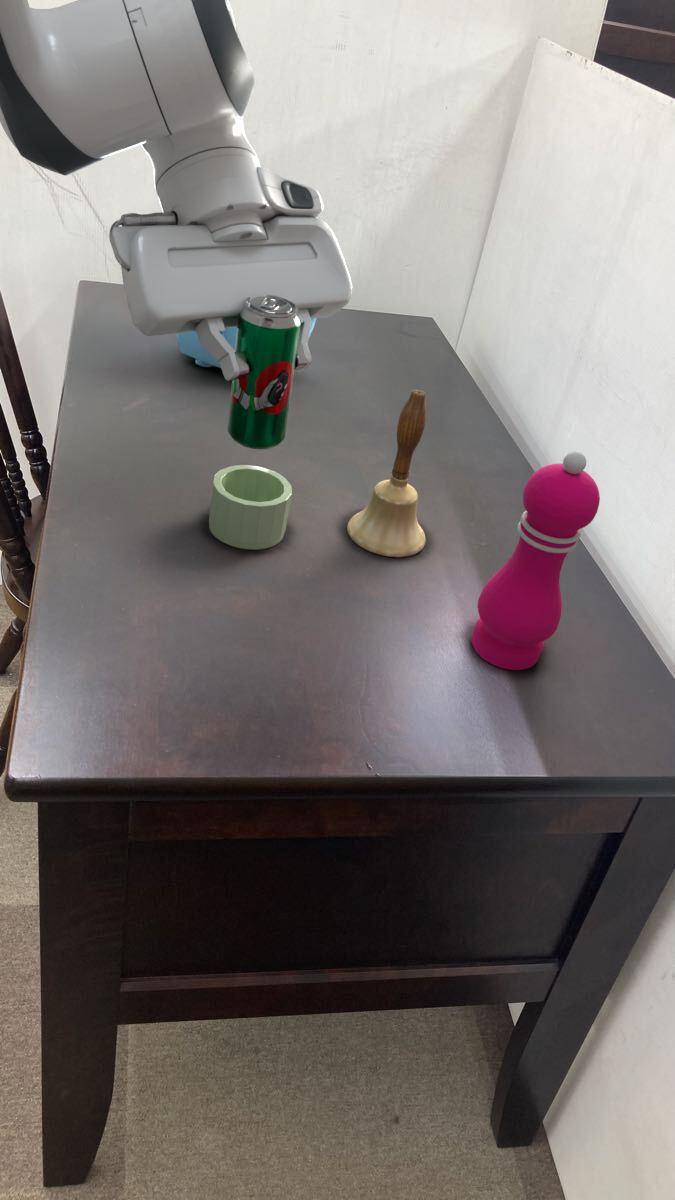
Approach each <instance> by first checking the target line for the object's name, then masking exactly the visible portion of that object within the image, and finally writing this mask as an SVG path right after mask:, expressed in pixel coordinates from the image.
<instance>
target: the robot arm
mask: <svg viewBox="0 0 675 1200" xmlns="http://www.w3.org/2000/svg"><path fill="white" fill-rule="evenodd" d="M250 63H251V62H250V60H249V58H248V57H247V53H246V52H245V50H244V47H243V45H242V42H241V40H240V38H239V35H238V28H237V23H236V18H235V14H234V10H233V7H232V3H231V1H230V0H75V1H72V2H69V3H65V4H63V5H60V6H57V7H56V6H55V7H53V8H33V7H30V4H29V1H28V0H0V125H1V127H2V129H3V131H4V133H5V134H6V136H7V137H8V139H9V141H10V142H11V143H12V145H13V146H14V148H16V150H17V151H18V153H19V154H20V156H21V157H22V158H24V159H25V160H27V161H29V162H31V163H33V164H34V165H37V166H39V167H41V168H43V169H46V170H48V171H50V172H53V173H56V174H59V175H62V176H65V177H66V176H67V177H68V176H69V175H72V174H74V173H76V172H78V171H80V170H83V169H85V168H87V167H90V166H91V165H94V164H96V163H98V162H101V161H103V160H104V159H105V158H106V157H108V156H112V155H115V154H118V153H121V152H123V151H126V150H130V149H132V148H135V147H138V146H141V148H142V149H143V150H144V152H145V153H146V155H147V156H148V158H149V160H150V162H151V165H152V169H153V182H154V183H153V184H154V190H155V192H156V195H157V198H158V201H159V205H160V209H161V211H162V212H150V213H138V212H128V213H124V214H121V216H120V218H119V219H117V220H116V221H114V222H113V223H112V224H111V226H110V227H109V233H108V234H109V235H108V238H109V239H108V240H109V242H110V245H111V249H112V253H113V255H114V257H115V260H116V261H117V263H118V264H119V265H120V270H121V277H122V284H123V290H124V294H125V299H126V304H127V308H128V312H129V316H130V319H131V323H132V324H133V326H134V327H135V328H136V329H137V330H138V331H139V332H140V333H142V334H143V335H144V336H146V337H152V336H162V335H172V334H173V335H174V334H177V333H182V332H192V331H196V332H197V335H198V338H199V341H200V344H201V345H202V346H203V347H204V348H205V349H206V350H207V351H208V352H209V353H210V354H211V355H212V356H213V357H214V358H215V359H216V360H217V361H219V363H220V366H221V368H220V369H221V371H222V375H223V377H224V379H225V381H227V382H228V381H232V380H235V379H242V378H244V376H246V375H248V374H249V365H248V364H247V363H246V356H245V354H244V352H243V351H241V352H235V350H234V349H233V348H232V347H231V345H230V344H229V343H228V342H227V340H226V339H225V338H224V337H223V336H222V333H223V332H224V331H225V328H228V327H237V324H238V314H239V313H240V312H241V310H242V308H243V307H244V301H245V299H246V298H248V297H250V299H249V302H250V301H251V300H252V299H254V298H256V297H267V295H272V296H277V297H281V298H284V299H287V300H289V301H291V302H293V303H294V304H295V305H296V306H297V307H298V312H297V314H298V316H299V318H300V321H301V326H300V333H299V340H298V347H297V355H296V362H295V369H294V371H303V370H306V369H307V368H308V367H310V366H312V363H313V358H312V354H311V352H310V348H309V345H308V343H309V339H310V337H309V334H310V329H311V323H312V321H311V318H317V319H319V318H328V317H332V316H333V315H335V314H337V313H338V312H339V311H341V310H342V309H343V308H345V306H347V305H348V304H350V301H351V299H352V294H353V283H352V282H353V281H352V278H351V276H350V272H349V269H348V265H347V263H346V260H345V257H344V255H343V251H342V248H341V246H340V244H339V242H338V239H337V237H336V235H335V233H334V232H333V230H332V229H331V227H330V226H329V224H328V223H326V222H325V221H324V220H322V219H321V218H320V217H319V216H320V215H321V214H322V212H323V211H324V203H323V198H322V196H321V194H320V192H319V191H318V190H317V189H316V188H314V187H312V186H309V185H306V184H303V183H300V182H299V181H295V180H293V179H289V178H287V177H286V176H285V177H284V176H282V175H281V174H278V173H276V172H274V171H272V170H270V169H268V168H267V167H263V166H261V164H260V161H259V158H258V155H257V153H256V152H255V149H254V148H253V146H252V145H251V144H250V142H249V140H248V139H247V136H246V133H245V129H244V115H245V113H246V111H247V109H248V106H249V103H250V100H251V97H252V95H253V91H254V88H255V74H254V71H253V69H252V66H251V64H250ZM318 217H319V218H318Z"/></svg>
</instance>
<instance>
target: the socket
mask: <svg viewBox="0 0 675 1200" xmlns="http://www.w3.org/2000/svg"><path fill="white" fill-rule="evenodd" d="M292 495H293V487H292V485H291V483H290V482H289V481H288V479H287V478H286V477H284V475H282V474H280V473H278V472H276V471H274V470H272V469H268V468H266V467H263V466H259V465H250V464H238V465H230V466H227V467H225V468H222V469H220V470H219V471H218V472H217V473H215V475H213V478H212V489H211V497H210V507H209V516H208V528H209V531H210V533H211V534H212V535H213V536H214V537H215V538H216V539H218V541H220V542H221V543H223V544H226V545H229V546H231V547H234V548H237V549H243V550H251V551H252V550H254V551H255V550H256V551H257V550H264V549H265V550H266V549H269V548H272V547H274V546H276V545H278V544H279V543H280V542H281V541H282V540H283V539H284V538H285V534H286V531H287V527H288V521H289V520H288V519H289V514H290V508H291V502H292Z"/></svg>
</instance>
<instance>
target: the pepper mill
mask: <svg viewBox="0 0 675 1200" xmlns="http://www.w3.org/2000/svg"><path fill="white" fill-rule="evenodd" d="M586 466H587V459H586V456H585V455H584V453H582V452H580V451H577V450H575V451H570V452H567V454H566V455H565V456H564V457H563V459H562V463H551V464H547V465H544V466H541V467H540V468H538V469H537V470H535V471H534V472H533V473H532V475H531V476H530V477H529V478H528V479H527V481H526V484H525V486H524V489H523V491H522V503H523V506H524V509H525V510H524V511H523V513H522V514H521V516H520V521H519V522H518V524H517V532H518V534H519V539H518V543H517V544H516V547H515V550H514V551H513V553H512V554H511V556H510V558H509V559H508V560H507V561H506V562H505V563H504V564H503V565H502V566H501V567H500V568H499V569H498V570H497V571H496V572H495V573H494V574H493V575H492V576H491V577H490V578H489V579H488V581H487V583H486V584H485V585H484V587H483V588H482V590H481V593H480V595H479V597H478V600H477V613H478V616H479V618H478V619H477V621H476V623H475V626H474V629H473V631H472V634H471V643H472V647H473V649H474V651H475V652H476V654H478V655H479V656H480V657H481V659H483V660H484V661H486V662H487V663H489V664H491V665H493V666H495V667H498V668H500V669H505V670H510V671H522V670H527V669H530V668H532V667H533V666H534V665H535V664H536V663H537V662H538V660H539V658H540V655H541V653H542V651H543V649H544V645H545V642H546V641H547V640H548V639H550V638H551V637H552V636H553V635H554V634H555V633H556V631H557V630H558V627H559V625H560V620H561V617H562V608H563V607H562V603H563V601H562V592H561V588H560V579H561V571H562V568H563V564H564V561H565V559H566V557H567V555H568V553H569V552H572V551H573V550H575V549H576V548H577V546H578V540H579V539H580V538H581V535H582V529H583V528H586V527H587V526H589V525H590V524H591V523H592V521H594V519H595V517H596V515H597V514H598V510H599V506H600V501H601V496H600V490H599V486H598V485H597V482H596V481H595V480H594V479H593V477H592V476H591V475H590V474H589V473H587V472H586V471H585V469H586Z"/></svg>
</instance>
